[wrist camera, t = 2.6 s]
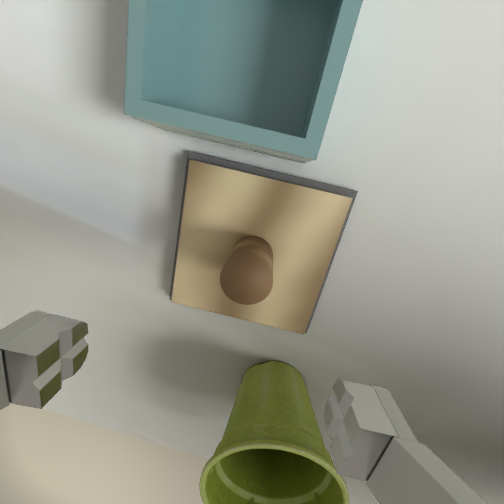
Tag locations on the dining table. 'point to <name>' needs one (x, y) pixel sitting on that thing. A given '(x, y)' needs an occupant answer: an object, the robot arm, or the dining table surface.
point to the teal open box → (239, 69)
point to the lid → (255, 246)
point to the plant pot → (272, 446)
